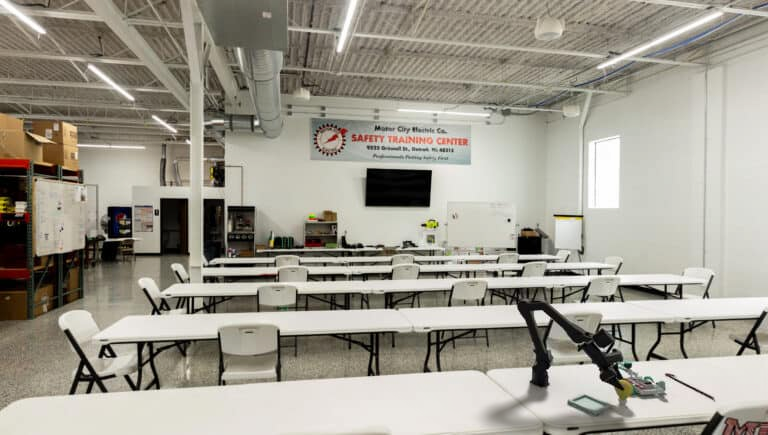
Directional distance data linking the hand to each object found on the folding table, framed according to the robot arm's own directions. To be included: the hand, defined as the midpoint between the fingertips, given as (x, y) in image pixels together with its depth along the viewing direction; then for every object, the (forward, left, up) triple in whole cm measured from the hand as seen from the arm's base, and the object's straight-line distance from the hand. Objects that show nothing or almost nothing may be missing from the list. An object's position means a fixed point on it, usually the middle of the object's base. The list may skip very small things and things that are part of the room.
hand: (624, 386), depth 170 cm
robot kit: (-8, +24, -8) cm, 26 cm away
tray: (-6, -14, -8) cm, 17 cm away
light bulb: (0, 0, -8) cm, 8 cm away
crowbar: (+7, +46, -8) cm, 47 cm away
